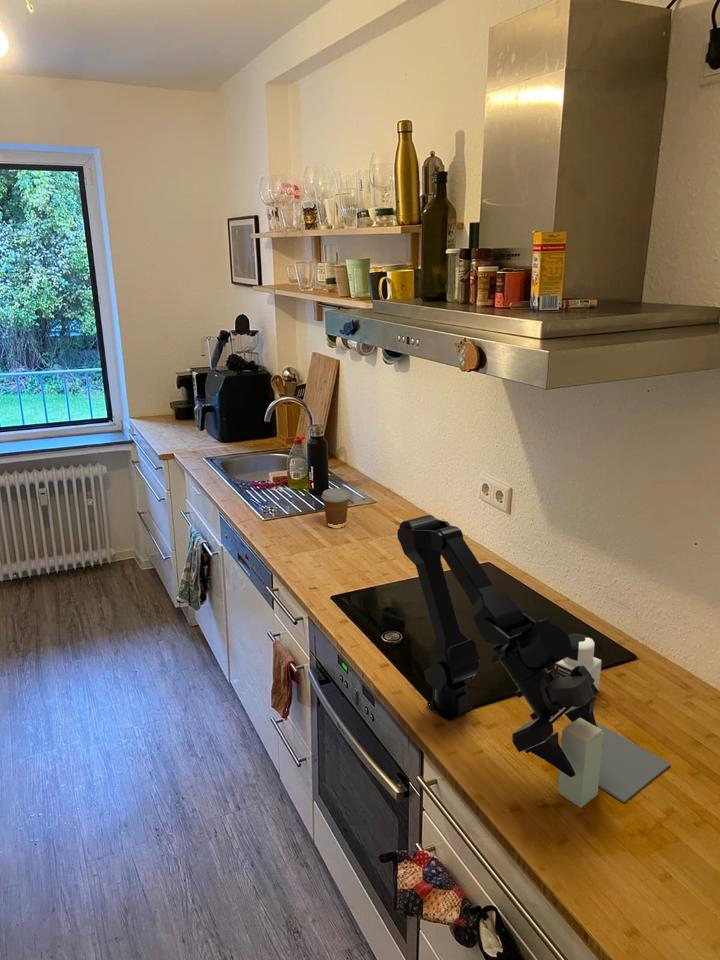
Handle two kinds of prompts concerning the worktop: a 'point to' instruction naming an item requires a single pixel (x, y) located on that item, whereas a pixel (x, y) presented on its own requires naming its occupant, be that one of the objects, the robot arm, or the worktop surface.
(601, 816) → the worktop surface
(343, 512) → the disposable coffee cup
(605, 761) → the plate
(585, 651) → the medicine bottle
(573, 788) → the tea tin
